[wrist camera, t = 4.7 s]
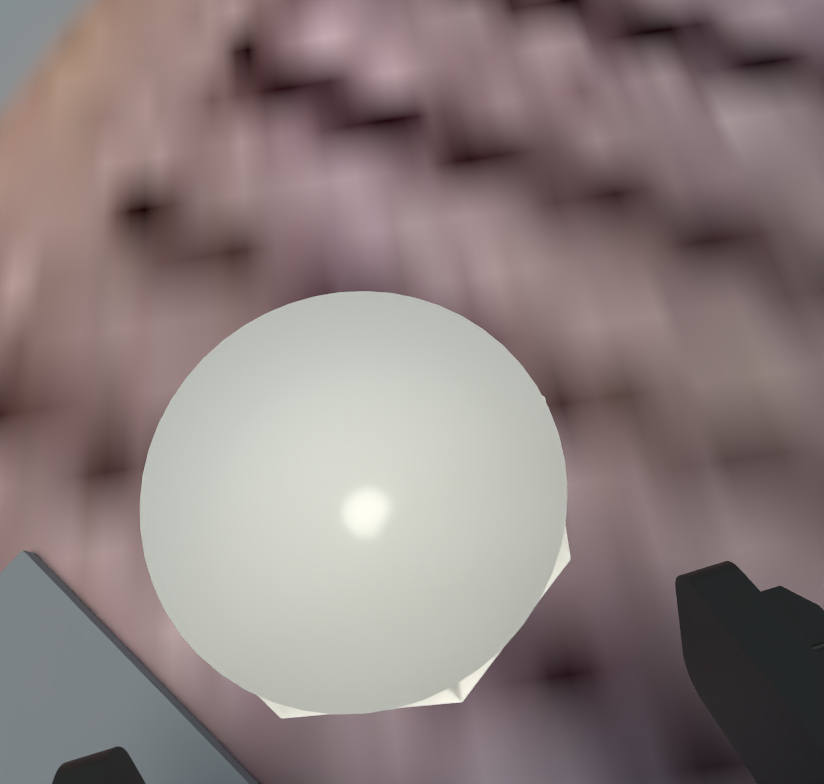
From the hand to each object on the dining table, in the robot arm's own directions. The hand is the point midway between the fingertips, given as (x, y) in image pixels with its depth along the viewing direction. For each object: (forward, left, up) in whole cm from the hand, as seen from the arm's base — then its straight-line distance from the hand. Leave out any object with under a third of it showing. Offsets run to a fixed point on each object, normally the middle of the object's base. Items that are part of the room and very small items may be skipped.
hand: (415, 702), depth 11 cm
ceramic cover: (-2, -2, -8) cm, 9 cm away
